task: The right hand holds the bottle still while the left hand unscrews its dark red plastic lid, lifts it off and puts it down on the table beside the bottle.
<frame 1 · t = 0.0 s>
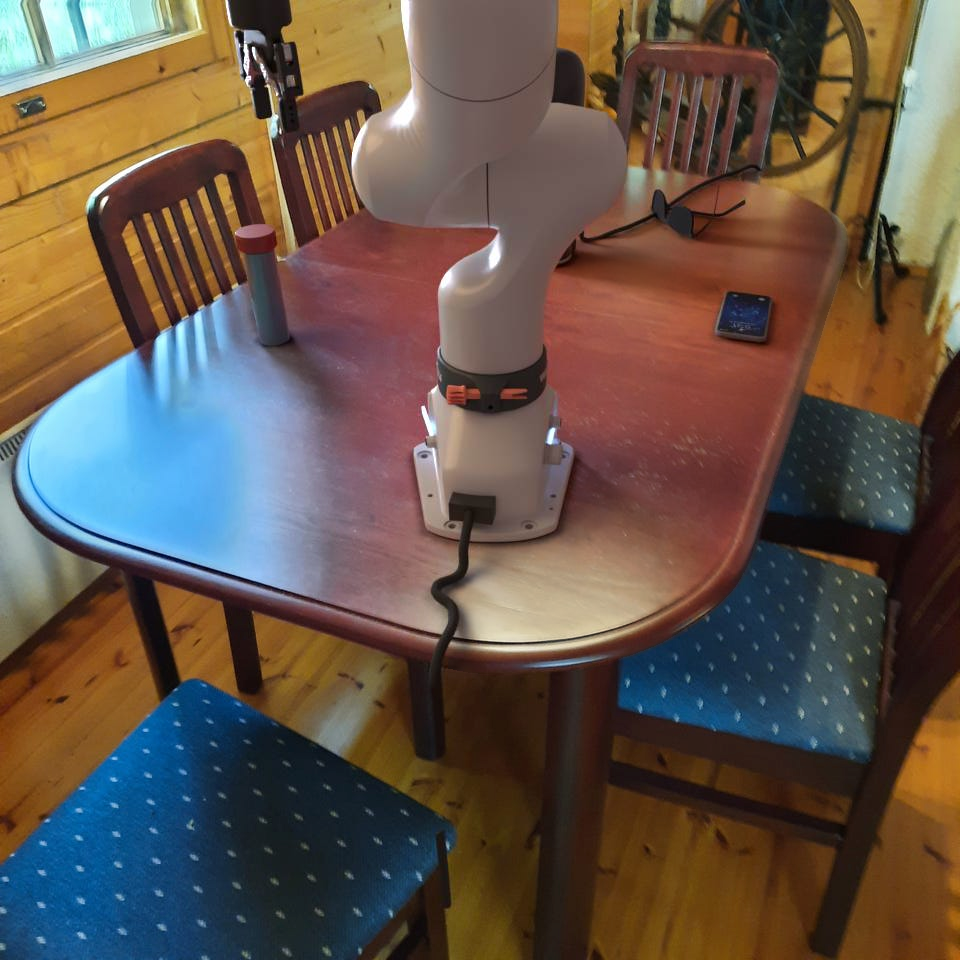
right hand: (277, 124, 111), 29 cm above the table, tool pointing down, fingers open, 8 cm apart
lid: (255, 233, 117), point 16 cm above the table, screwed on, not yet turned
smartphone: (743, 319, 128), on the table
bottle: (274, 338, 126), on the table
sunglasses: (698, 222, 161), on the table
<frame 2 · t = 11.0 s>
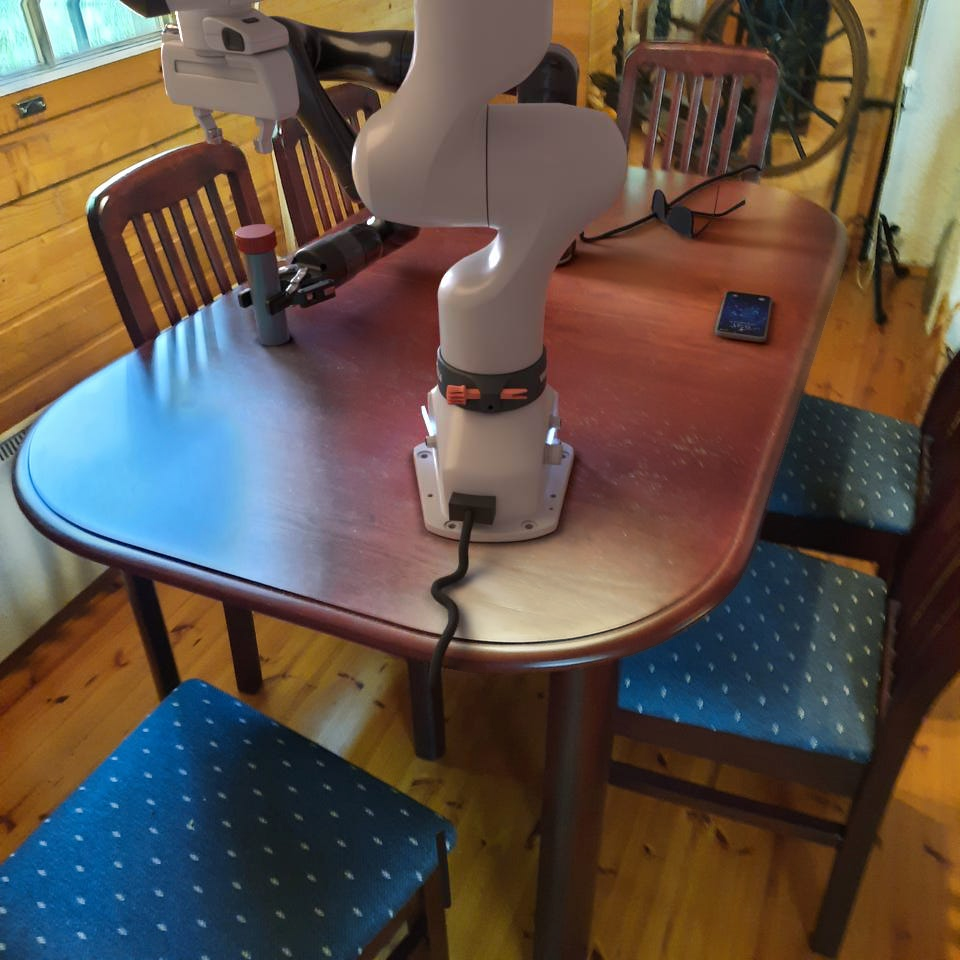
left hand: (239, 148, 110), 27 cm above the table, tool pointing down, fingers open, 7 cm apart
right hand: (254, 305, 121), 7 cm above the table, tool horizontal, fingers closed on bottle, 4 cm apart
bottle: (274, 338, 126), on the table, touching right hand
everything else where it was.
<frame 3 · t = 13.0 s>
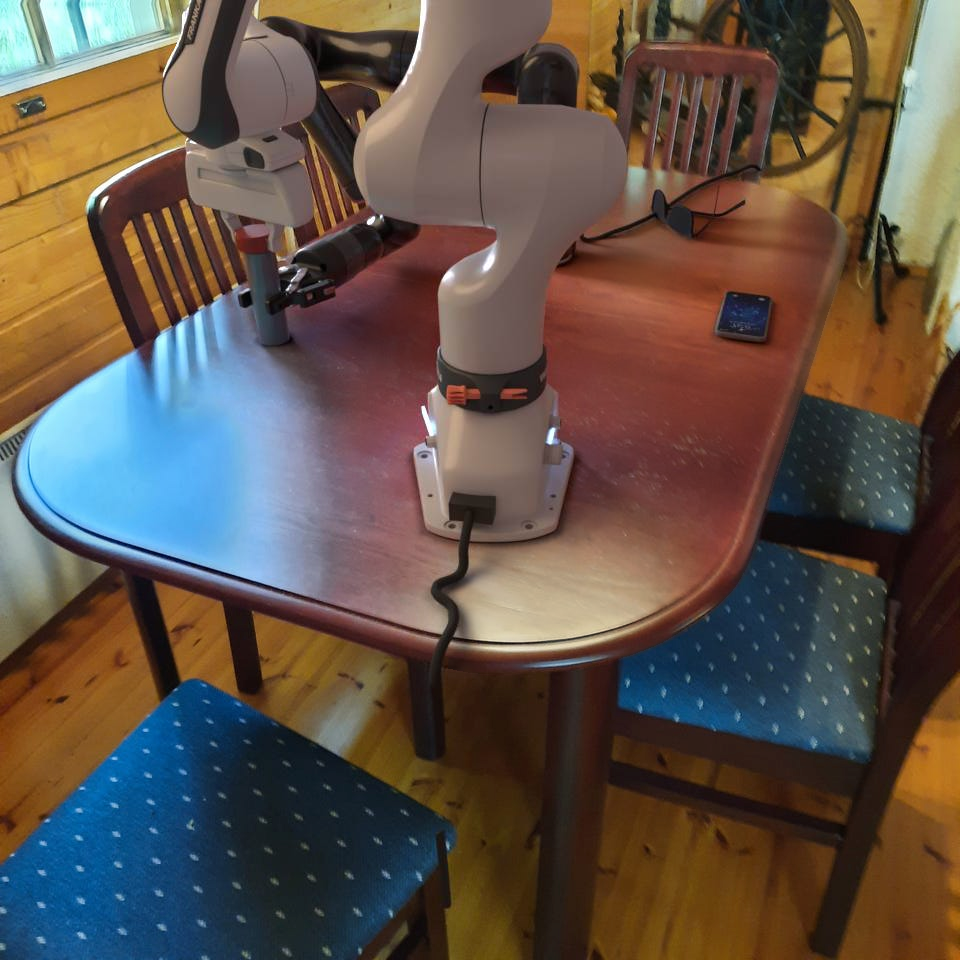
left hand: (257, 246, 118), 14 cm above the table, tool pointing down, fingers closed on lid, 5 cm apart
right hand: (254, 305, 121), 7 cm above the table, tool horizontal, fingers closed on bottle, 4 cm apart
lid: (255, 233, 117), point 16 cm above the table, screwed on, not yet turned, touching left hand
bottle: (274, 338, 126), on the table, touching right hand
everything else where it was.
when the left hand's fingers open (14 cm above the table, at t = 14.1 s): lid stays where it is, point 16 cm above the table.
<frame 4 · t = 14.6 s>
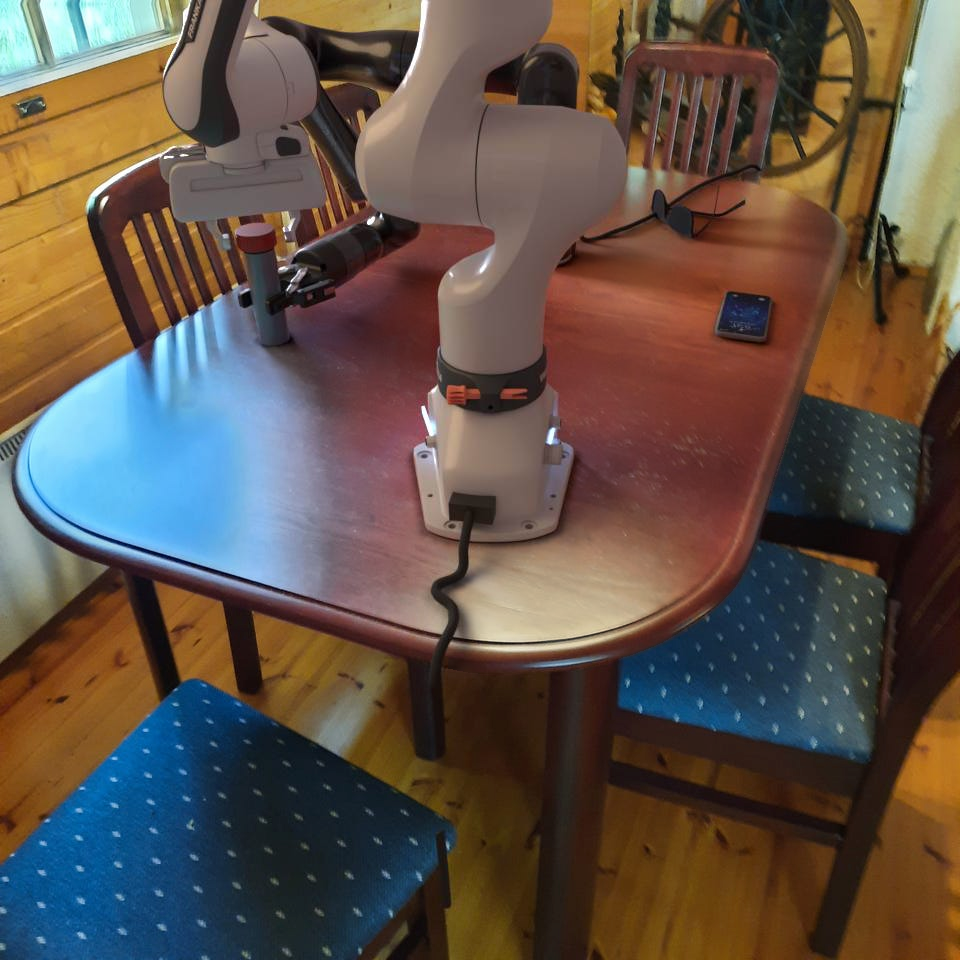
left hand: (258, 245, 118), 14 cm above the table, tool pointing down, fingers open, 7 cm apart
right hand: (254, 305, 121), 6 cm above the table, tool horizontal, fingers closed on bottle, 4 cm apart
lid: (254, 231, 117), point 16 cm above the table, turned 66° so far, risen 0.2 cm, still on its thread
bottle: (274, 338, 126), on the table, touching right hand
everything else where it was.
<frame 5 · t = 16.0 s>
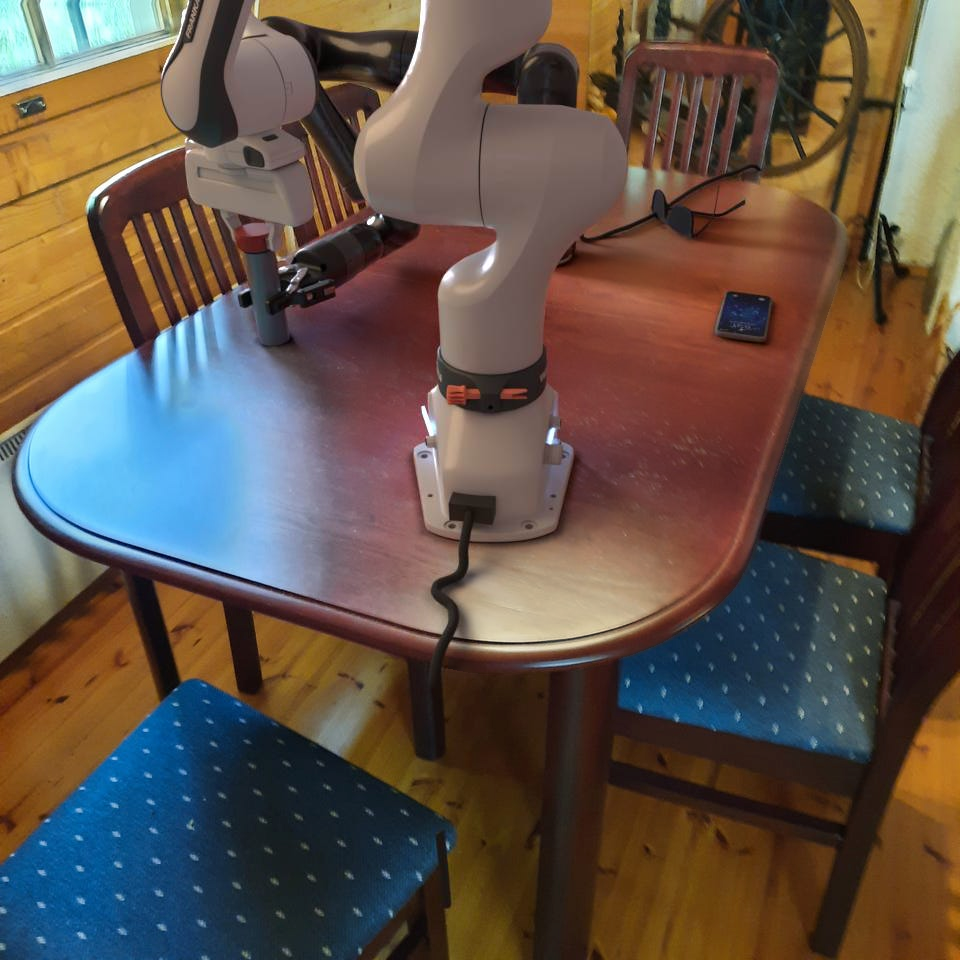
left hand: (257, 245, 118), 14 cm above the table, tool pointing down, fingers closed on lid, 5 cm apart
right hand: (254, 305, 121), 6 cm above the table, tool horizontal, fingers closed on bottle, 4 cm apart
lid: (254, 231, 117), point 16 cm above the table, turned 66° so far, risen 0.2 cm, still on its thread, touching left hand
bottle: (274, 338, 126), on the table, touching right hand
everything else where it was.
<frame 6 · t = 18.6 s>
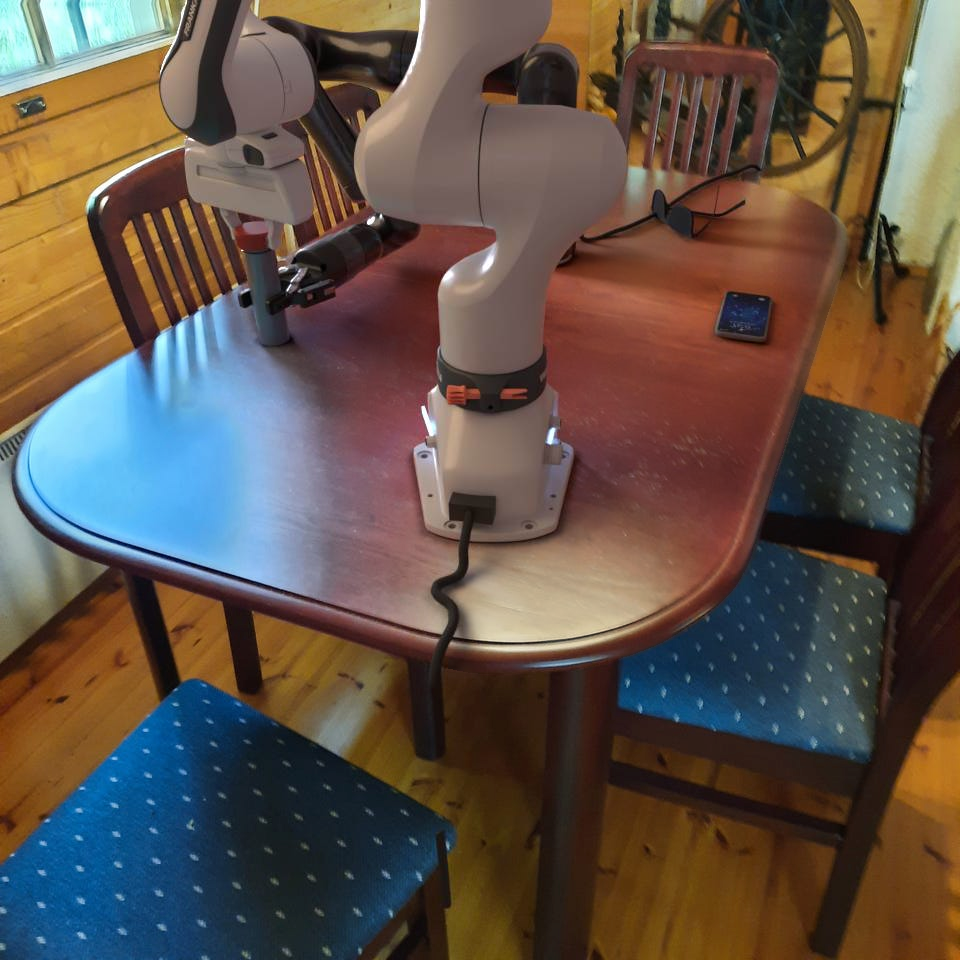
left hand: (257, 243, 118), 15 cm above the table, tool pointing down, fingers closed on lid, 5 cm apart
right hand: (254, 305, 121), 6 cm above the table, tool horizontal, fingers closed on bottle, 4 cm apart
lid: (254, 230, 117), point 16 cm above the table, turned 133° so far, risen 0.4 cm, still on its thread, touching left hand
bottle: (274, 338, 126), on the table, touching right hand
everything else where it was.
when the left hand's fingers open (2 cm above the table, at t = 25.8 s): lid drops 2 cm, point 2 cm above the table.
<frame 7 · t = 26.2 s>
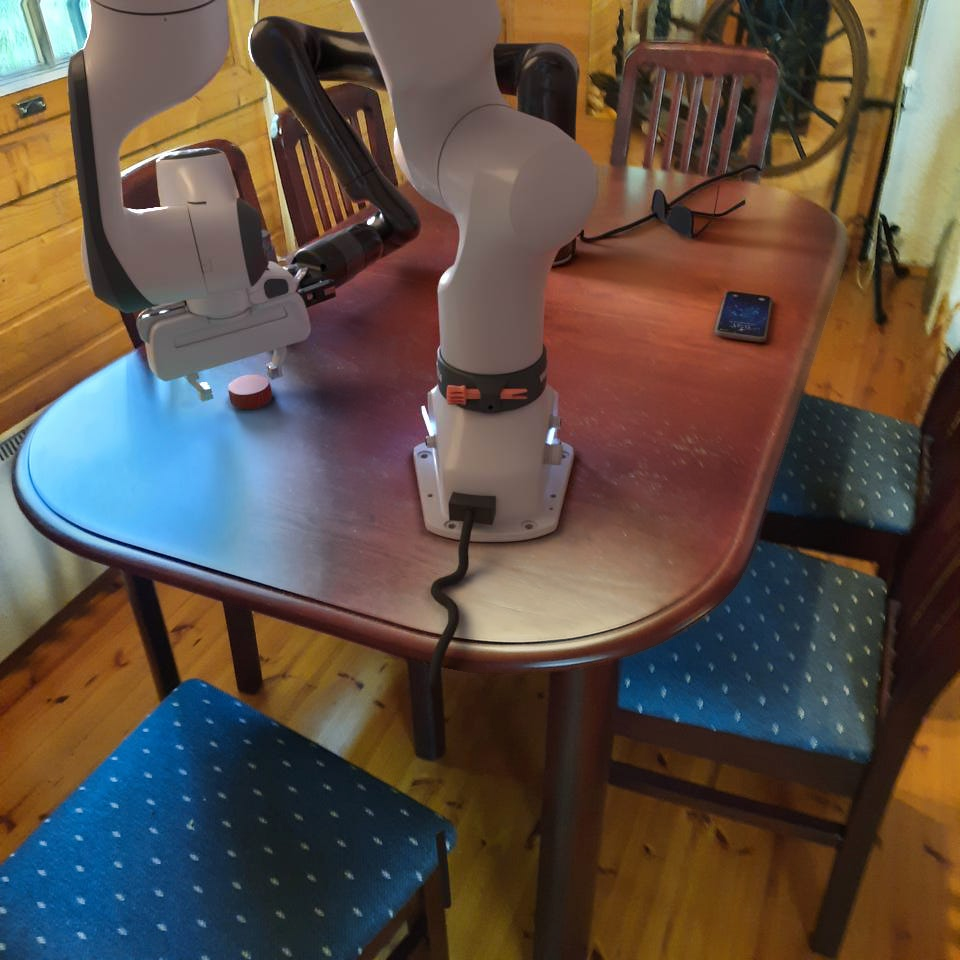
left hand: (241, 387, 111), 2 cm above the table, tool pointing down, fingers open, 8 cm apart
right hand: (254, 305, 121), 6 cm above the table, tool horizontal, fingers closed on bottle, 4 cm apart
lid: (249, 386, 111), point 2 cm above the table, off its thread
bottle: (274, 338, 126), on the table, touching right hand
everything else where it was.
when the right hand's fingers open (6 cm above the table, at t = 26.8 s): bottle stays where it is, on the table.
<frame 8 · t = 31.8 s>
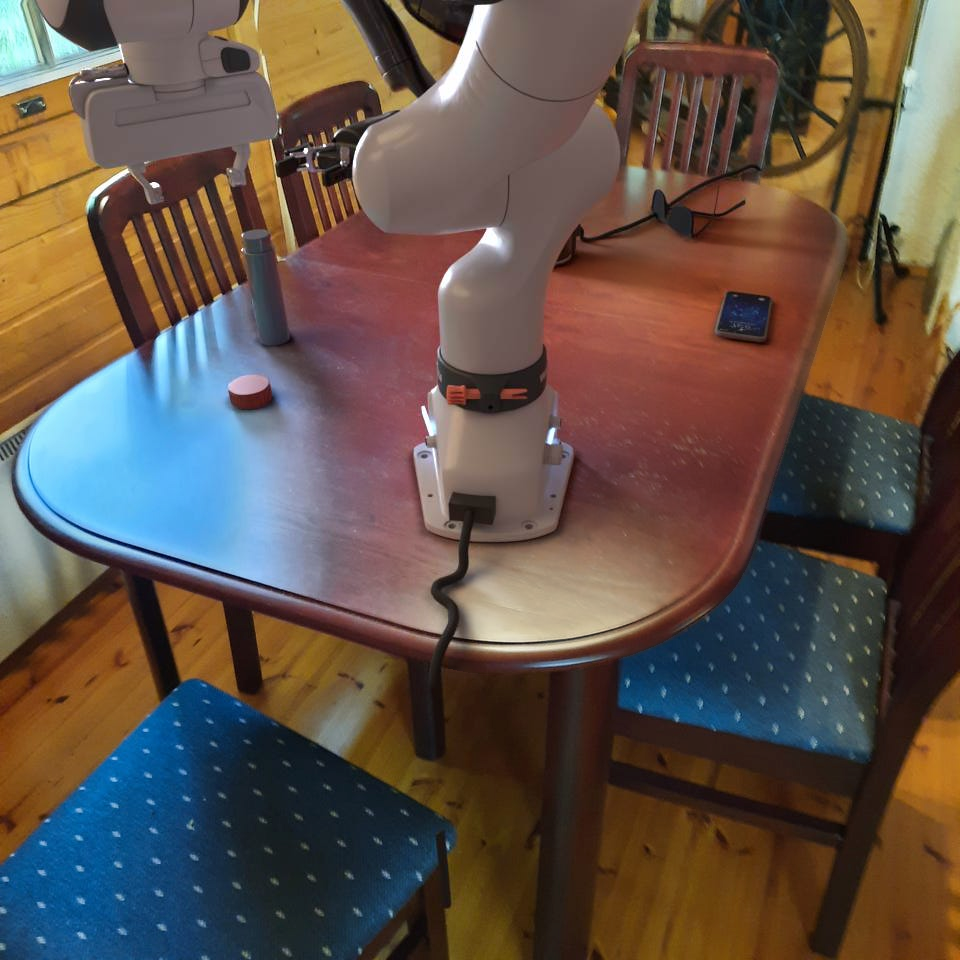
left hand: (198, 193, 96), 27 cm above the table, tool pointing down, fingers open, 8 cm apart
right hand: (300, 175, 122), 21 cm above the table, tool horizontal, fingers open, 8 cm apart
bottle: (274, 338, 126), on the table
everything else where it was.
at the end: lid came off its thread; lid point 1.9 cm above the table; the left hand is holding nothing; the right hand is holding nothing; bottle tilted 0°; bottle moved 0.0 cm from its start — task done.
